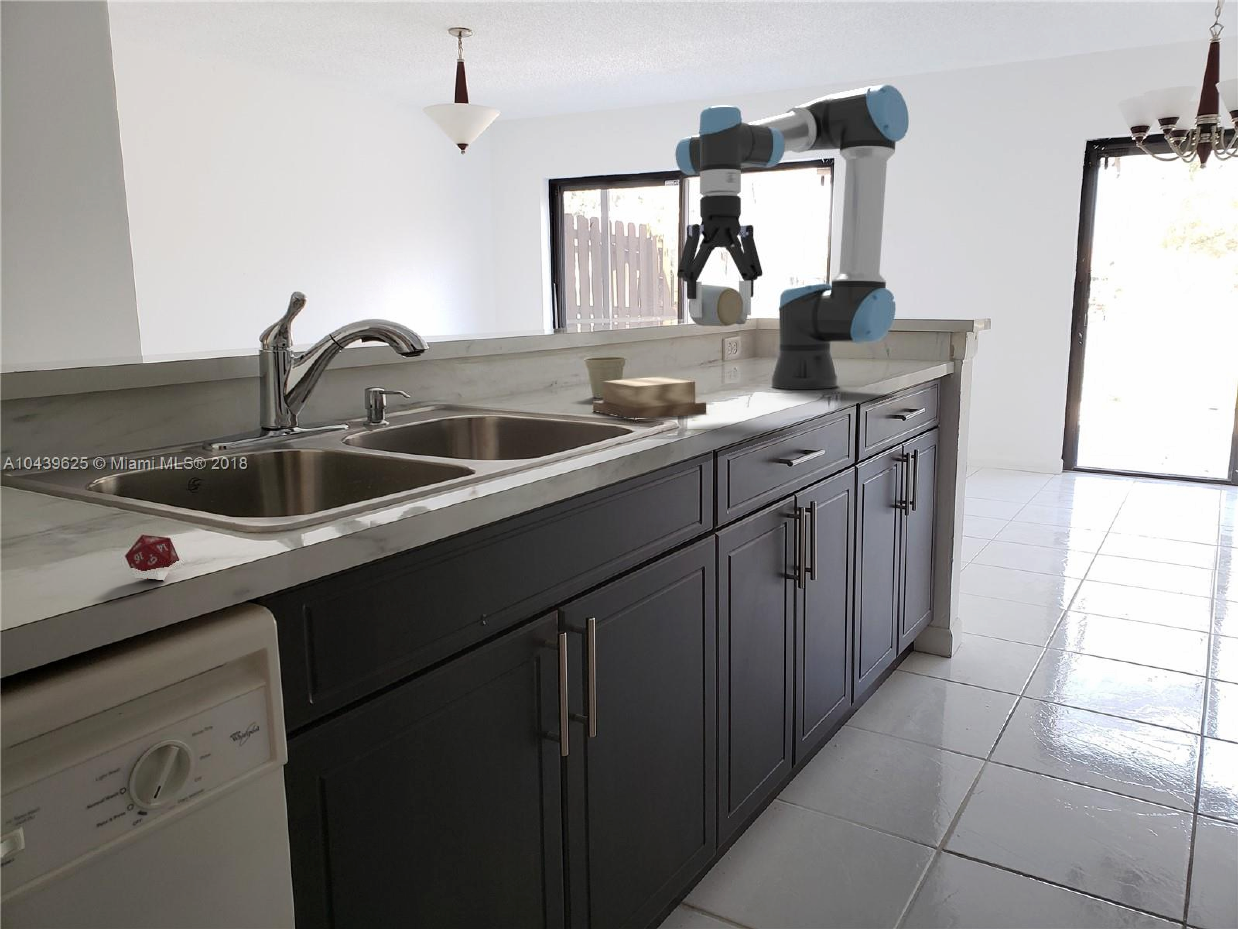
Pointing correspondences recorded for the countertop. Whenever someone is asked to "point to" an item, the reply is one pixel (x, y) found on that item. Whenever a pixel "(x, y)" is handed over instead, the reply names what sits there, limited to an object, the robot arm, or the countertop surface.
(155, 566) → the dice
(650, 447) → the countertop surface
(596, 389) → the flower pot
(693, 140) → the robot arm
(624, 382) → the pedestal block
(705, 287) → the ceramic mug
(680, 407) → the board
